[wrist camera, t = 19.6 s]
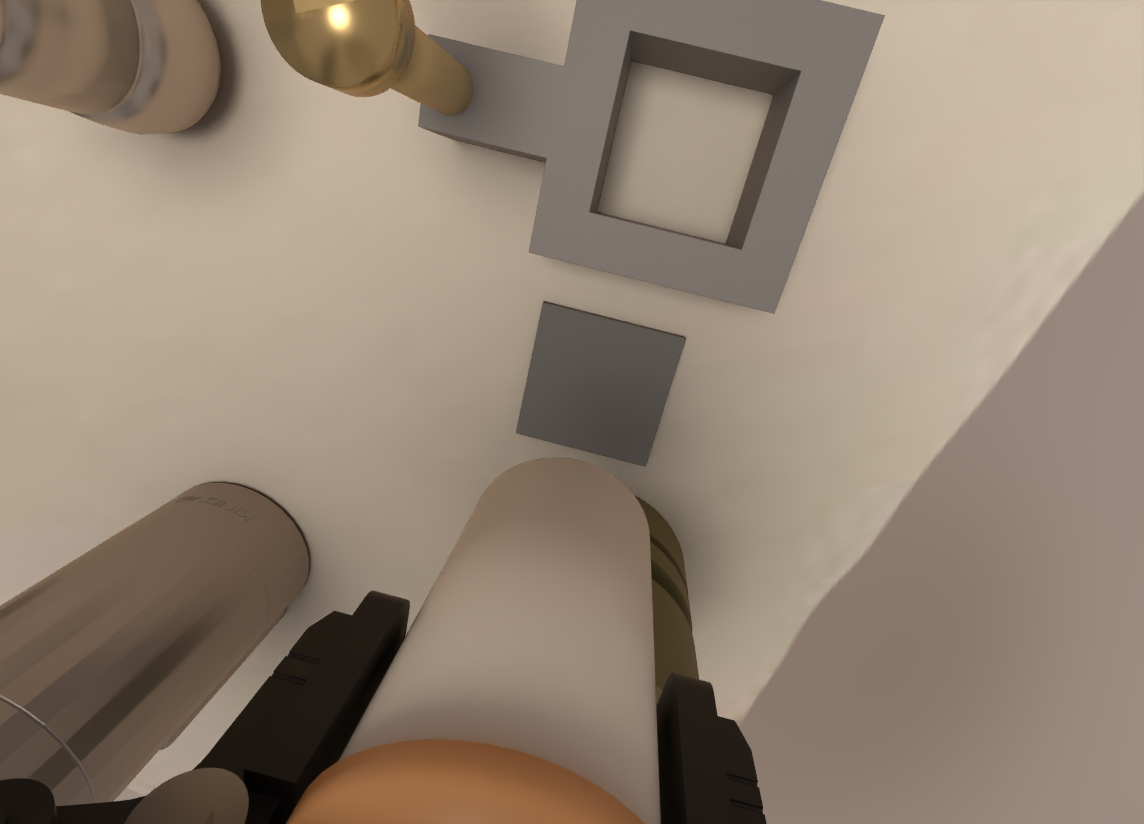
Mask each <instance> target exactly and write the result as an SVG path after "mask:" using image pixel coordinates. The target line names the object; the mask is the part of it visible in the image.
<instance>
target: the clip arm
mask: <svg viewBox="0 0 1144 824" xmlns="http://www.w3.org/2000/svg"><path fill="white" fill-rule="evenodd" d="M261 8H262V13H263V18H264V22H265V25H266V28H267V31H268V33H269V35H270V37H271V40H272V42H273V43H274V45H275V47H276V49H277V50H278V51H279V53H280V54H281V56H282V57H283V58H284V59H285V61H286V62H287V63H288V64H289V65H290V66H291V67H292V68H293V69H295V70H296V71H297V72H298V73H300V74H301V75H303V76H304V77H306V78H308V79H310V80H312V81H315V82H317V83H320V84H322V85H325V86H327V87H330V88H332V89H335V90H337V91H340V92H342V93H345V94H348V95H351V96H356V97H371V96H375V95H379V94H381V93H383V92H385V91H387V90H388V89H390V88H391V87H393V86H394V85H395V84H396V83H397V82H398V81H399V80H400V78H401V77H402V76H403V74H404V73H405V71H406V69H407V67H408V65H409V63H410V60H411V57H412V54H413V49H414V44H415V22H414V15H413V11H412V7H411V4H410V1H409V0H261Z"/></svg>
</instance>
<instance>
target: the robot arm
mask: <svg viewBox="0 0 1144 824" xmlns="http://www.w3.org/2000/svg"><path fill="white" fill-rule="evenodd" d="M308 573H309V557H308V552H307V547H306V545H305V542H304V540H303V538H302V535H301V533H300V532H299V530H298V529H297V527H296V526H295V524H294V523H293V521H292V520H291V519H290V518H289V517H288V516H287V515H286V514H285V513H284V511H283V510H282V509H280V508H279V507H278V506H277V505H275V504H274V503H273V502H272V501H270V500H269V499H267V498H266V497H264V496H262V495H260V494H258V493H257V492H255V491H253V490H250V489H247V488H244V487H242V486H239V485H234V484H228V483H206V484H202V485H199V486H195V487H193V488H191V489H190V490H188V491H186V492H184V493H183V494H181V495H179V496H178V497H176V498H175V499H173V500H171V501H170V502H168V503H166V504H165V505H163V506H162V507H160V508H158V509H157V510H155V511H153V512H152V513H150V514H149V515H147V516H145V517H144V518H142V519H140V520H139V521H137V522H136V523H134V524H132V525H130V526H129V527H127V528H125V529H124V530H122V531H120V532H119V533H117V534H116V535H114V536H112V537H111V538H109V539H108V540H106V541H104V542H103V543H101V544H99V545H98V546H96V547H95V548H93V549H91V550H90V551H88V552H87V553H85V554H83V555H82V556H80V557H78V558H77V559H75V560H74V561H72V562H70V563H69V564H67V565H66V566H64V567H62V568H61V569H59V570H57V571H56V572H54V573H53V574H51V575H49V576H48V577H46V578H45V579H43V580H41V581H40V582H38V583H36V584H35V585H33V586H32V587H30V588H28V589H27V590H25V591H24V592H22V593H20V594H19V595H17V596H16V597H14V598H12V599H11V600H9V601H7V602H6V603H4V604H3V605H1V606H0V824H286V822H287V821H288V819H289V817H290V815H291V814H292V812H293V810H294V808H295V807H296V805H297V803H298V801H299V800H300V798H301V797H302V795H303V794H304V792H305V791H306V789H307V788H308V786H309V785H310V784H311V783H312V782H313V781H314V780H315V779H316V778H317V777H318V776H319V775H320V774H321V773H322V772H323V771H325V770H326V769H328V768H329V767H331V766H332V765H333V764H335V763H336V762H338V760H339V759H340V757H341V755H342V753H343V751H344V749H345V748H346V746H347V744H348V742H349V740H350V738H351V737H352V735H353V733H354V731H355V729H356V727H357V725H358V724H359V722H360V720H361V718H362V716H363V714H364V713H365V711H366V709H367V707H368V705H369V703H370V701H371V700H372V698H373V696H374V694H375V692H376V690H377V689H378V687H379V685H380V683H381V681H382V679H383V677H384V676H385V674H386V672H387V670H388V668H389V666H390V665H391V663H392V661H393V659H394V657H395V655H396V654H397V652H398V650H399V648H400V646H401V644H402V642H403V641H404V639H405V636H406V629H407V622H408V615H409V608H410V602H409V600H406V599H403V598H399V597H395V596H391V595H388V594H384V593H380V592H377V591H370V592H369V593H368V594H367V595H366V597H365V598H364V600H363V601H362V602H361V604H360V605H359V607H358V608H357V609H356V611H355V612H354V614H353V615H348V614H344V613H341V612H337V611H333V612H332V613H330V614H329V615H327V616H326V617H324V618H323V619H321V620H319V621H318V622H316V623H315V624H313V625H312V626H310V627H309V628H308V629H307V630H306V631H305V632H304V634H303V635H302V636H301V638H300V639H299V640H298V641H297V643H296V644H295V645H294V646H293V648H292V649H291V650H290V652H289V655H288V656H285V658H284V659H283V660H282V661H281V663H280V664H279V665H278V667H277V668H276V669H275V670H274V673H273V675H272V676H270V677H269V678H268V679H267V680H266V682H265V683H264V684H263V685H262V687H261V688H260V689H259V690H258V692H257V693H256V694H255V696H254V697H253V698H252V699H251V701H250V702H249V703H248V704H247V706H246V707H245V708H244V709H243V711H242V712H241V713H240V714H239V716H238V717H237V718H236V719H235V721H234V722H233V723H232V725H231V726H230V727H229V728H228V730H227V731H226V732H225V733H224V735H223V736H222V737H221V738H220V740H219V741H218V742H217V743H216V745H215V746H214V747H213V749H212V750H211V751H210V752H209V754H208V755H207V756H206V757H205V758H204V759H203V760H202V761H201V763H199V764H198V765H197V766H196V767H195V768H194V769H193V770H192V771H188V772H185V773H182V774H180V775H178V776H175V777H173V778H171V779H170V780H168V781H166V782H164V783H162V784H161V785H160V786H158V787H157V788H155V789H154V790H153V791H151V792H150V793H149V794H148V795H146V796H143V797H139V798H136V799H131V800H124V801H115V802H113V801H114V800H115V799H116V798H117V797H118V796H119V795H120V793H121V792H122V791H123V790H124V789H125V788H126V787H127V786H128V784H129V783H130V782H131V781H132V780H133V779H134V778H135V777H136V775H137V774H138V773H139V772H140V771H141V770H142V769H143V768H144V766H145V765H146V764H147V763H148V762H149V761H150V760H151V759H152V758H153V756H154V755H155V754H156V753H157V752H158V751H159V750H162V749H165V748H166V747H168V746H170V745H171V744H172V743H173V742H174V741H175V740H176V739H177V737H178V736H179V735H180V734H181V733H182V732H183V731H184V729H185V728H186V727H187V726H188V725H189V724H190V723H191V721H192V720H193V719H194V718H195V717H196V716H197V715H198V713H199V712H200V711H201V710H202V709H203V708H204V707H205V705H206V704H207V703H208V702H209V701H210V700H211V699H212V697H213V696H214V695H215V694H216V693H217V692H218V691H219V689H220V688H221V687H222V686H223V685H224V684H225V683H226V681H227V680H228V679H229V678H230V677H231V676H232V675H233V673H234V672H235V671H236V670H237V669H238V668H239V667H240V665H241V664H242V663H243V662H244V661H245V660H246V659H247V657H248V656H249V655H250V654H251V653H252V652H253V651H254V649H255V648H256V647H257V646H258V645H259V644H260V643H261V641H262V640H263V639H264V638H265V637H266V636H267V635H268V633H269V632H270V631H271V630H272V629H273V628H274V627H275V625H276V624H277V623H278V622H279V621H280V620H281V619H282V617H283V616H284V610H285V608H286V607H287V606H288V605H289V604H290V603H291V602H292V601H293V599H294V598H295V597H296V596H297V595H298V594H299V592H300V591H301V590H302V588H303V587H304V585H305V583H306V580H307V577H308ZM656 710H657V737H658V763H659V789H660V815H661V824H766V819H765V815H764V814H763V812H762V811H763V805H762V800H761V795H760V790H759V788H758V787H757V782H758V780H757V775H756V771H755V766H754V761H753V756H752V752H751V749H750V747H749V745H748V743H747V742H746V740H745V738H744V736H743V735H742V733H741V731H740V729H739V727H738V726H737V724H736V722H735V721H734V720H730V719H726V718H723V717H719V716H717V710H716V704H715V697H714V691H713V687H712V685H711V683H710V682H706V681H702V680H699V679H695V678H691V677H687V676H684V675H680V674H676V673H673V672H672V673H671V674H670V675H669V676H668V679H667V681H666V683H665V686H664V688H663V691H662V693H661V696H660V698H659V701H658V703H657V706H656Z"/></svg>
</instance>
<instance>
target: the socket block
mask: <svg viewBox="0 0 1144 824" xmlns="http://www.w3.org/2000/svg"><path fill="white" fill-rule="evenodd" d="M884 17H885V15H881V14H877V13H873V12H868V11H864V10H860V9H855V8H851V7H847V6H843V5H838V4H834V3H830V2H825V1H821V0H577V1H576V6H575V12H574V17H573V22H572V27H571V33H570V38H569V43H568V48H567V54H566V59H565V64H564V66H559V65H555V64H551V63H547V62H543V61H539V60H534V59H530V58H526V57H522V56H518V55H514V54H509V53H505V52H501V51H497V50H493V49H489V48H484V47H480V46H476V45H472V44H468V43H464V42H459V41H455V40H451V39H447V38H443V37H438V36H434V35H430V34H428V36H427V35H426V34H425V33H424V32H422V31H421V30H420V29H419V28H418V27H416V26H415V44H414V49H413V54H412V57H411V60H410V63H409V65H408V67H407V69H406V71H405V73H404V74H403V76H402V77H401V78H400V80H399V81H398V82H397V83H396V84H395V85H394V86H393V87H391V89H393V90H395V91H397V92H399V93H401V94H403V95H405V96H407V97H409V98H411V99H413V100H415V101H417V102H419V103H421V106H420V116H419V125H418V127H421V128H424V129H426V130H429V131H431V132H434V133H437V134H439V135H442V136H445V137H447V138H450V139H452V140H456V141H460V142H465V143H469V144H473V145H477V146H481V147H485V148H489V149H493V150H497V151H501V152H505V153H509V154H514V155H518V156H522V157H526V158H530V159H534V160H538V161H542V162H546V164H545V169H544V174H543V180H542V185H541V190H540V195H539V201H538V206H537V211H536V216H535V222H534V227H533V232H532V237H531V243H530V248H529V253H533V254H537V255H541V256H545V257H549V258H553V259H557V260H561V261H565V262H569V263H573V264H577V265H581V266H585V267H589V268H593V269H597V270H601V271H605V272H609V273H613V274H617V275H621V276H625V277H629V278H633V279H637V280H641V281H645V282H649V283H653V284H657V285H661V286H665V287H669V288H673V289H677V290H681V291H685V292H689V293H693V294H697V295H701V296H705V297H709V298H713V299H717V300H721V301H725V302H729V303H733V304H737V305H741V306H745V307H749V308H753V309H757V310H761V311H765V312H769V313H773V314H774V313H775V310H776V308H777V305H778V302H779V300H780V297H781V294H782V292H783V289H784V286H785V284H786V281H787V278H788V275H789V273H790V270H791V267H792V265H793V262H794V259H795V257H796V254H797V251H798V248H799V246H800V243H801V240H802V238H803V235H804V232H805V230H806V227H807V224H808V222H809V219H810V216H811V213H812V211H813V208H814V205H815V203H816V200H817V197H818V195H819V192H820V189H821V186H822V184H823V181H824V178H825V176H826V173H827V170H828V168H829V165H830V162H831V160H832V157H833V154H834V151H835V149H836V146H837V143H838V141H839V138H840V135H841V133H842V130H843V127H844V124H845V122H846V119H847V116H848V114H849V111H850V108H851V106H852V103H853V100H854V97H855V95H856V92H857V89H858V87H859V84H860V81H861V79H862V76H863V73H864V71H865V68H866V65H867V62H868V60H869V57H870V54H871V52H872V49H873V46H874V44H875V41H876V38H877V35H878V33H879V30H880V27H881V25H882V22H883V19H884ZM631 61H635V62H639V63H644V64H648V65H652V66H656V67H660V68H664V69H669V70H673V71H677V72H681V73H685V74H690V75H694V76H698V77H702V78H706V79H711V80H715V81H719V82H723V83H727V84H732V85H736V86H740V87H744V88H748V89H753V90H757V91H761V92H765V93H769V94H773V95H774V96H773V99H772V102H771V105H770V108H769V111H768V114H767V117H766V121H765V124H764V127H763V130H762V133H761V136H760V139H759V142H758V145H757V149H756V152H755V155H754V158H753V161H752V164H751V167H750V170H749V174H748V177H747V180H746V183H745V186H744V189H743V192H742V195H741V198H740V202H739V205H738V208H737V211H736V214H735V217H734V220H733V223H732V226H731V230H730V233H729V236H728V239H727V242H726V244H724V243H720V242H716V241H712V240H708V239H704V238H700V237H696V236H692V235H688V234H684V233H680V232H675V231H671V230H667V229H663V228H659V227H655V226H651V225H647V224H643V223H639V222H635V221H631V220H627V219H623V218H619V217H615V216H611V215H607V214H602V213H598V212H597V208H598V204H599V199H600V195H601V191H602V186H603V182H604V178H605V173H606V169H607V165H608V160H609V156H610V152H611V147H612V143H613V138H614V134H615V130H616V125H617V121H618V117H619V112H620V108H621V104H622V99H623V95H624V91H625V86H626V82H627V78H628V73H629V69H630V65H631Z"/></svg>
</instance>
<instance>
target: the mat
mask: <svg viewBox="0 0 1144 824" xmlns="http://www.w3.org/2000/svg"><path fill="white" fill-rule="evenodd" d="M685 340H686V338H685V337H684V336H680V335H676V334H672V333H668V332H664V331H660V330H656V329H652V328H648V327H644V326H641V325H637V324H633V323H629V322H625V321H621V320H617V319H613V318H609V317H605V316H601V315H597V314H593V313H589V312H585V311H581V310H577V309H573V308H569V307H565V306H561V305H557V304H553V303H549V302H545V301H544V302H543V305H542V310H541V314H540V319H539V324H538V329H537V334H536V339H535V343H534V348H533V353H532V358H531V363H530V368H529V372H528V377H527V382H526V387H525V392H524V397H523V401H522V406H521V411H520V416H519V421H518V426H517V430H516V433H518V434H521V435H525V436H529V437H533V438H537V439H541V440H545V441H549V442H552V443H556V444H560V445H564V446H568V447H572V448H576V449H579V450H583V451H587V452H591V453H595V454H599V455H603V456H607V457H610V458H614V459H618V460H622V461H626V462H630V463H634V464H637V465H641V466H645V467H646V464H647V460H648V457H649V454H650V451H651V448H652V445H653V441H654V438H655V435H656V432H657V429H658V425H659V422H660V419H661V416H662V413H663V410H664V406H665V403H666V400H667V397H668V394H669V390H670V387H671V384H672V381H673V378H674V375H675V371H676V368H677V365H678V362H679V359H680V355H681V352H682V349H683V346H684V343H685Z"/></svg>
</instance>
